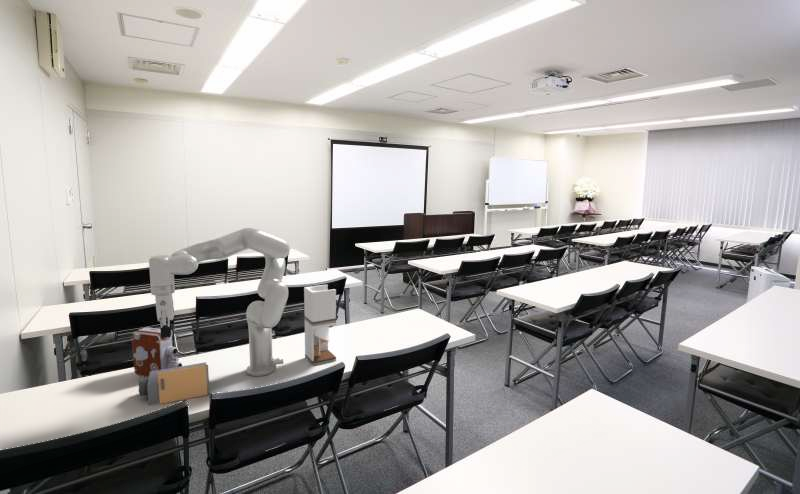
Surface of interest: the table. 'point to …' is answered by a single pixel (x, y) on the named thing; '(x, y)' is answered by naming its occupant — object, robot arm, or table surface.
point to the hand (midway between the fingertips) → (166, 336)
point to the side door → (183, 383)
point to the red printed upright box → (152, 351)
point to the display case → (319, 323)
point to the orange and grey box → (156, 383)
